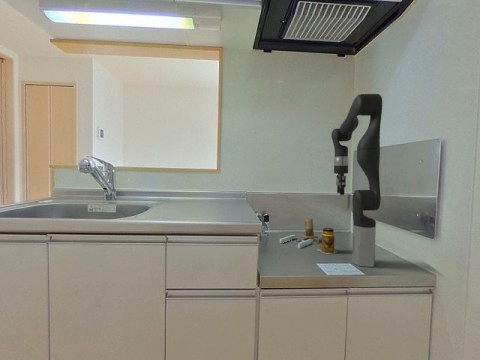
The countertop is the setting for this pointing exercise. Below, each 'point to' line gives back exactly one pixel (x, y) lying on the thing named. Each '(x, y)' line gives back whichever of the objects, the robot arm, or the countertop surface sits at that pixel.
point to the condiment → (327, 241)
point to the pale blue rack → (298, 241)
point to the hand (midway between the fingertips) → (340, 194)
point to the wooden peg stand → (309, 229)
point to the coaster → (313, 240)
